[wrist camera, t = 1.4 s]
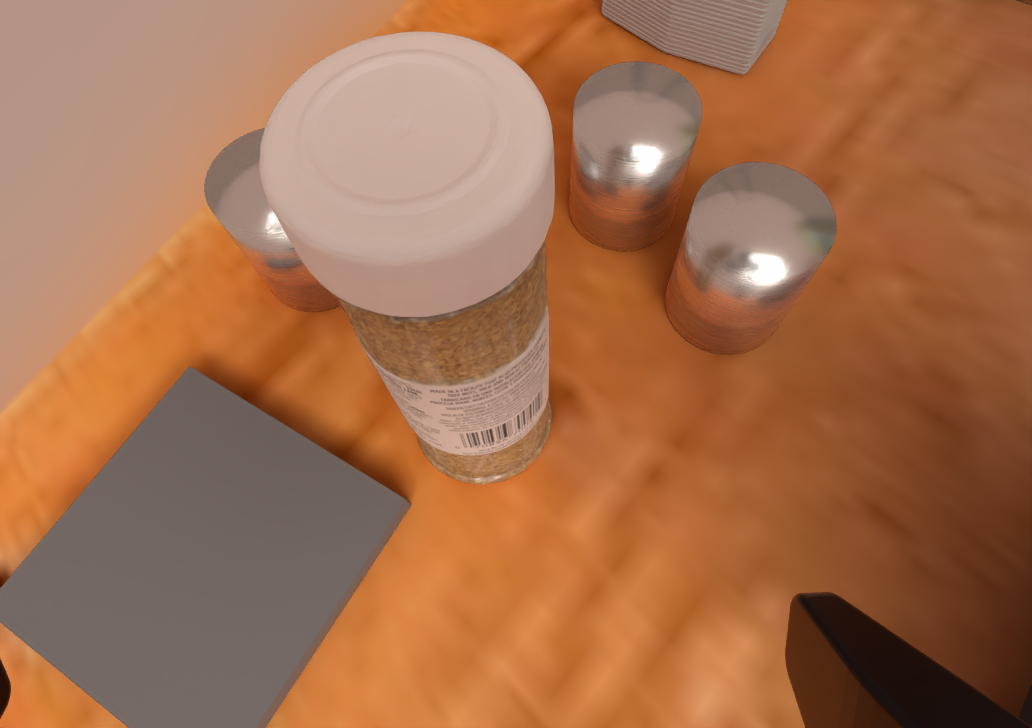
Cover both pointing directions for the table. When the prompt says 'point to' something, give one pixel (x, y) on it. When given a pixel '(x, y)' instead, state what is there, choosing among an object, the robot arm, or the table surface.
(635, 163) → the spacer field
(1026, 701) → the ammunition clip
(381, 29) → the table surface
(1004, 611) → the table surface
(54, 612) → the mat
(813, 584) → the table surface
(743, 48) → the padlock
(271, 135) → the sprinkles bottle
